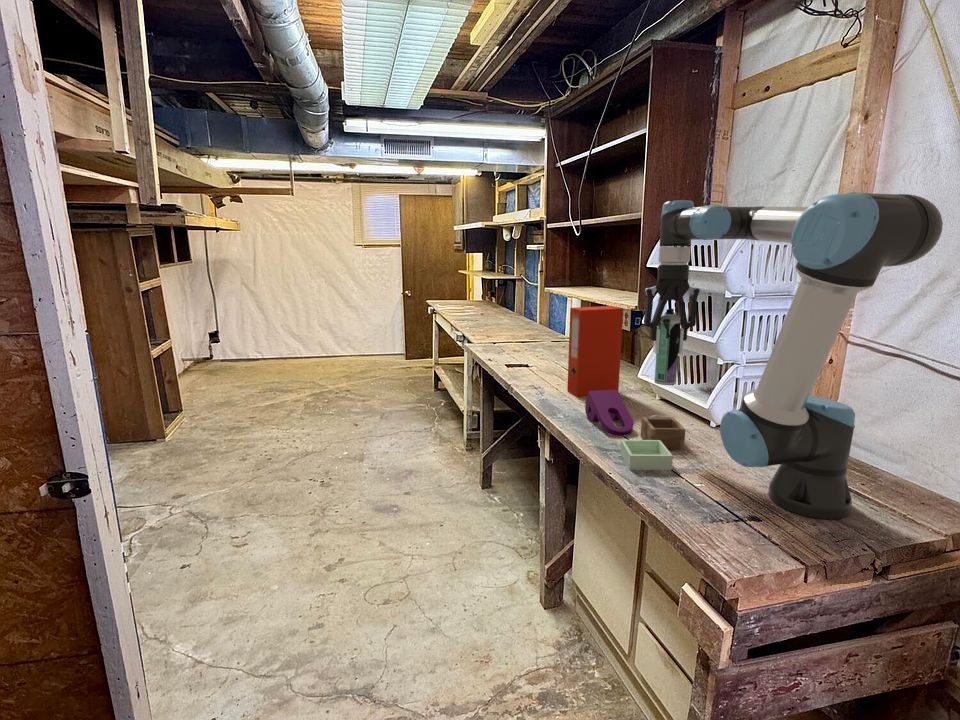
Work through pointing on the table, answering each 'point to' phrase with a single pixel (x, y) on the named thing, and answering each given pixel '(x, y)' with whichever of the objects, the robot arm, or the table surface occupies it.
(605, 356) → the file binder
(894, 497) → the table surface
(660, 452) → the parts tray
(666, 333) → the spray can
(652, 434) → the brown open-top box
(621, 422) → the mounting bracket
